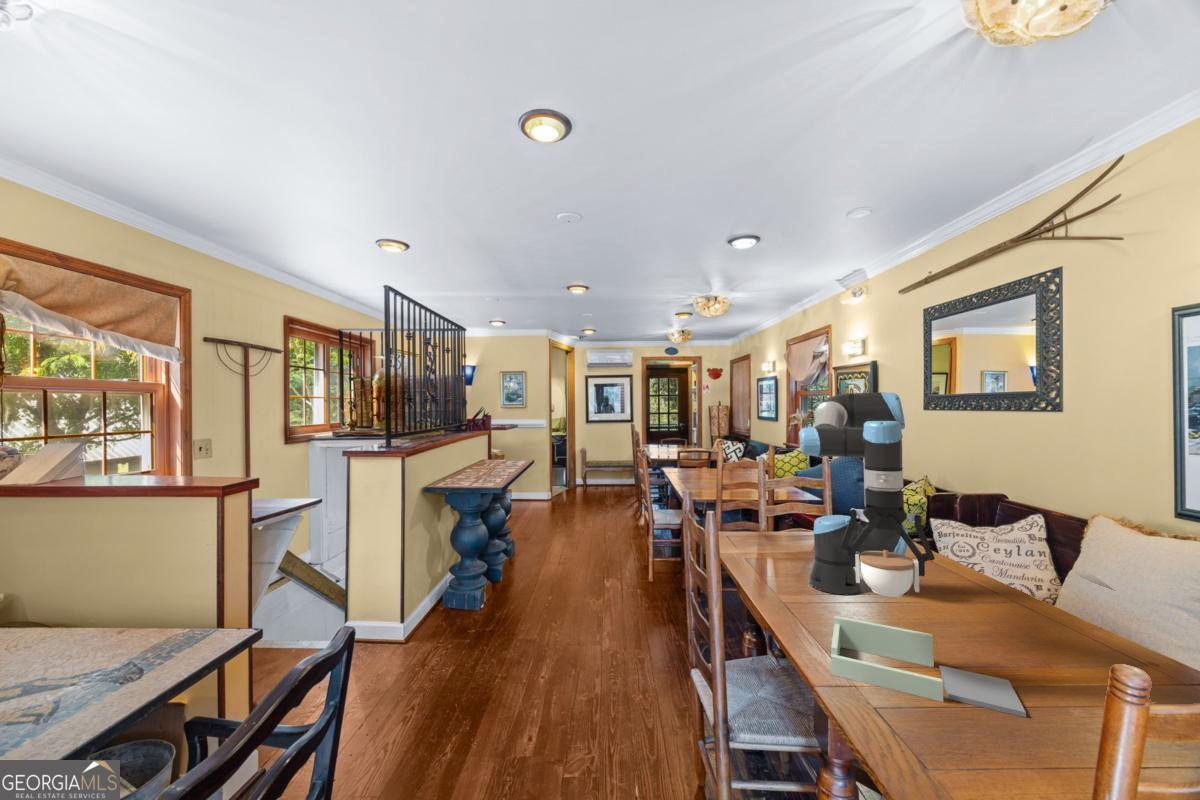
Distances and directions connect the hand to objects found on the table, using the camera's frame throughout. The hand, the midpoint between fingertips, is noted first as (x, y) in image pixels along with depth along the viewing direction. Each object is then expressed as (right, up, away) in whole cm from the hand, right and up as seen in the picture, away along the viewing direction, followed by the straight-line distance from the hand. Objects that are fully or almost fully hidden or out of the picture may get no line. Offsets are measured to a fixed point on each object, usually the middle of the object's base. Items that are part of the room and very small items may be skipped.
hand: (886, 585), depth 104 cm
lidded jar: (0, -2, 0) cm, 2 cm away
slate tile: (+14, -19, -9) cm, 25 cm away
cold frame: (-1, -19, 0) cm, 19 cm away
